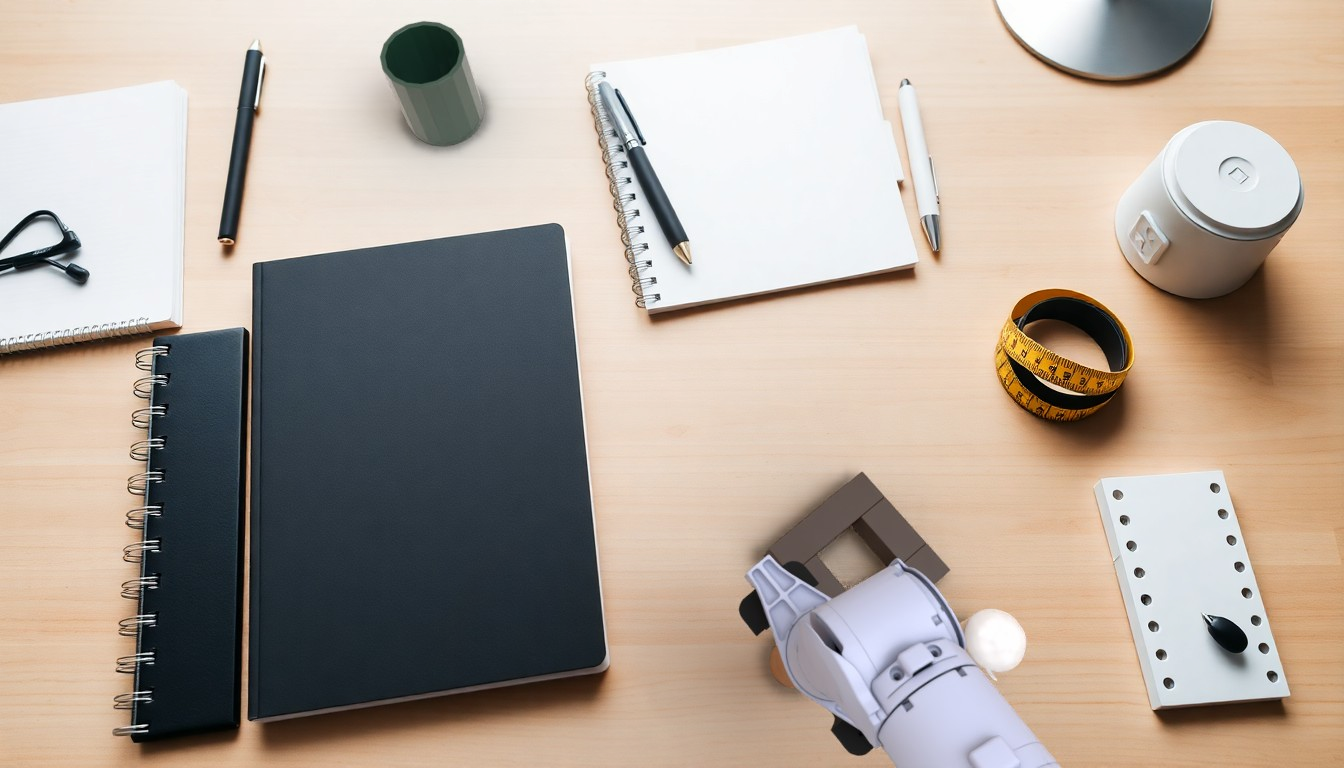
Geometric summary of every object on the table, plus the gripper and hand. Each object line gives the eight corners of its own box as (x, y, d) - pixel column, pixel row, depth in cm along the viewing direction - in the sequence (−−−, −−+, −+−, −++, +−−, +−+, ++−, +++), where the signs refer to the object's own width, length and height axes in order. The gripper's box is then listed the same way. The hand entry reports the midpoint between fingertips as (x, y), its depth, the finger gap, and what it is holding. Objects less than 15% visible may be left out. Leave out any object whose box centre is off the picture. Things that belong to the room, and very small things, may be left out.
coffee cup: (498, 119, 88) (479, 59, 80) (434, 159, 86) (409, 101, 78) (456, 72, 90) (434, 8, 82) (393, 109, 89) (364, 48, 80)
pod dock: (936, 576, 72) (950, 569, 68) (845, 656, 69) (855, 654, 66) (852, 482, 74) (862, 470, 71) (762, 555, 72) (767, 548, 68)
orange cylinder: (828, 666, 69) (847, 663, 61) (791, 698, 68) (806, 699, 61) (796, 627, 70) (811, 619, 63) (760, 658, 69) (771, 654, 62)
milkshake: (923, 671, 69) (963, 667, 59) (941, 609, 71) (982, 596, 61) (976, 692, 68) (1025, 692, 59) (993, 630, 70) (1042, 620, 61)
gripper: (981, 708, 48) (915, 704, 61) (813, 512, 52) (785, 547, 64) (892, 792, 46) (844, 770, 59) (726, 584, 50) (714, 605, 63)
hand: (808, 658), depth 62 cm, fingers open, 7 cm apart
